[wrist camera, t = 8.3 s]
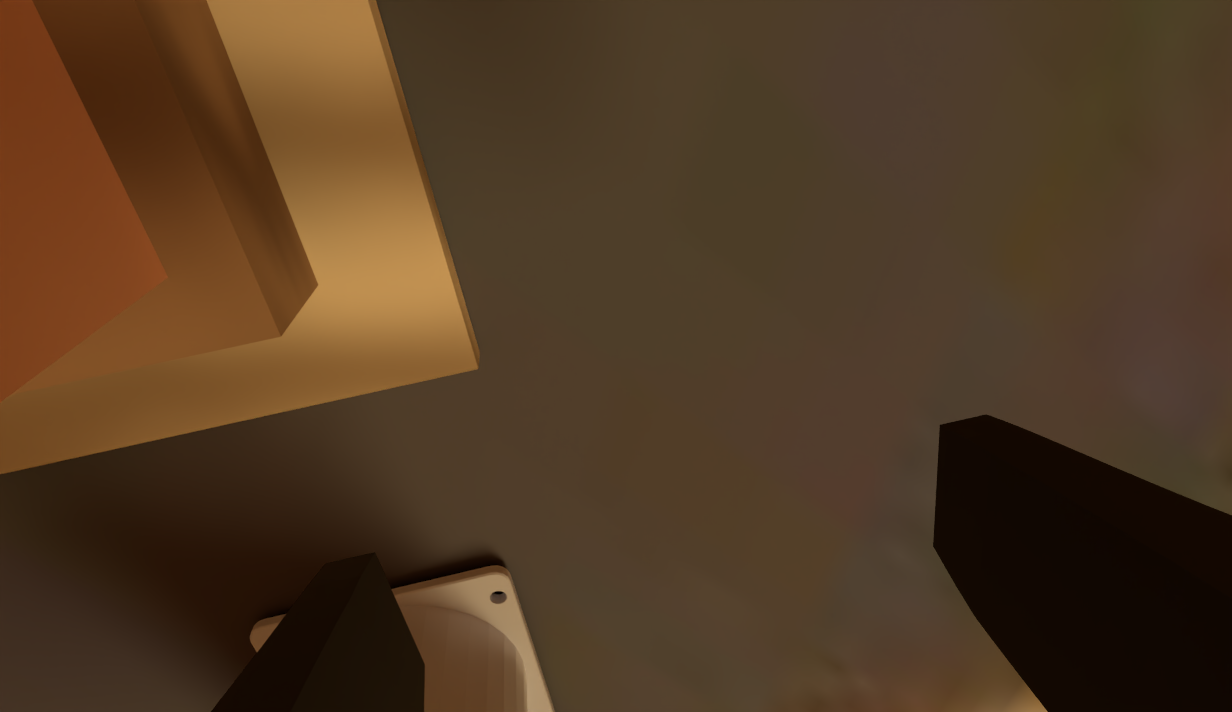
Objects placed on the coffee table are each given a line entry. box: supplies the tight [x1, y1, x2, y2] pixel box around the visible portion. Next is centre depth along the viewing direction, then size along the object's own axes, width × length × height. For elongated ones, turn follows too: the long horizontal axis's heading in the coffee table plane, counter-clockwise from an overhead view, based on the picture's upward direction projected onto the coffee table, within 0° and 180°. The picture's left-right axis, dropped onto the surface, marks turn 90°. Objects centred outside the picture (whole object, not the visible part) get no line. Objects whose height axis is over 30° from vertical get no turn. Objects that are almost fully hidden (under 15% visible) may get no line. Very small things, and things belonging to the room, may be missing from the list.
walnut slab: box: [11, 0, 318, 395], centre depth 13 cm, size 8×8×3 cm
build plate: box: [0, 0, 480, 474], centre depth 15 cm, size 14×14×1 cm
